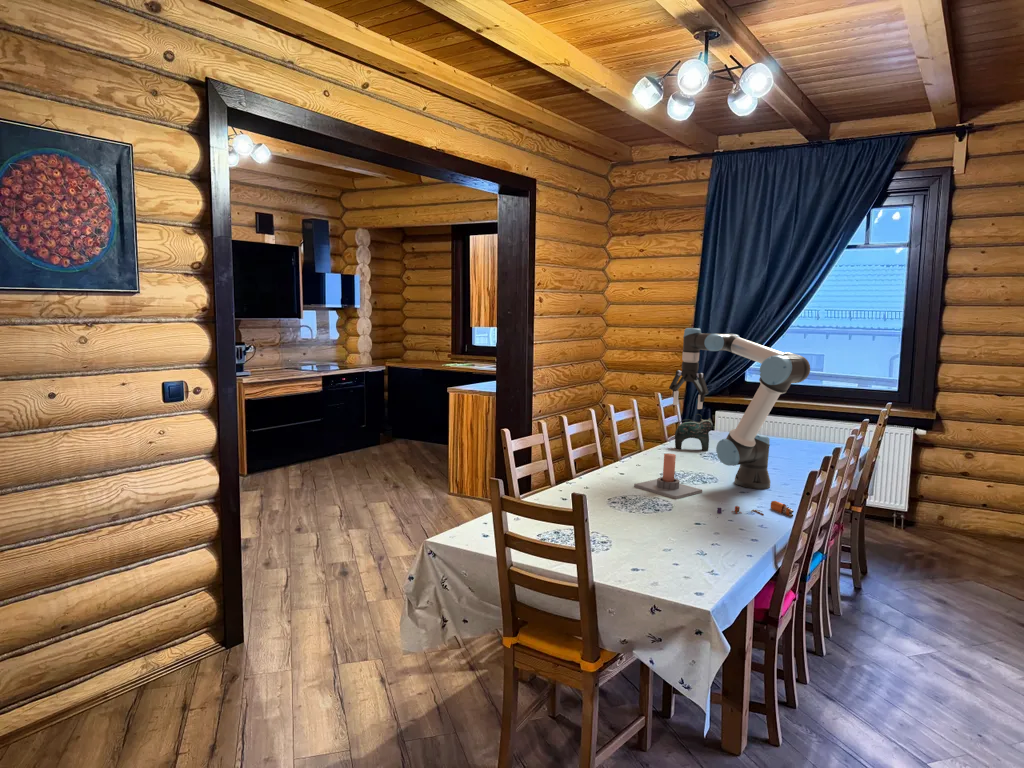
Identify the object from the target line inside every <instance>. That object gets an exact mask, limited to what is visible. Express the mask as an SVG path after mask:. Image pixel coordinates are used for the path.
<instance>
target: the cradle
mask: <svg viewBox="0 0 1024 768" xmlns="http://www.w3.org/2000/svg"><path fill="white" fill-rule="evenodd" d="M633 487H634V488H637V489H640V490H644V491H647V492H651V493H654V494H657V495H661V496H664V497H667V498H669V499H674V500H679V499H681V498H683V499H684V498H686V497H689V496H694V495H697V494H701V493H703V489H701V488H697V487H694V486H690V485H687V484H682V483H681V482H680V479H677V478H675V477H674V482H665V481H663V476H662V477H657V478H655V479H652V480H651V479H650V480H647V481H643V482H637V483H634V485H633Z"/></svg>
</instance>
